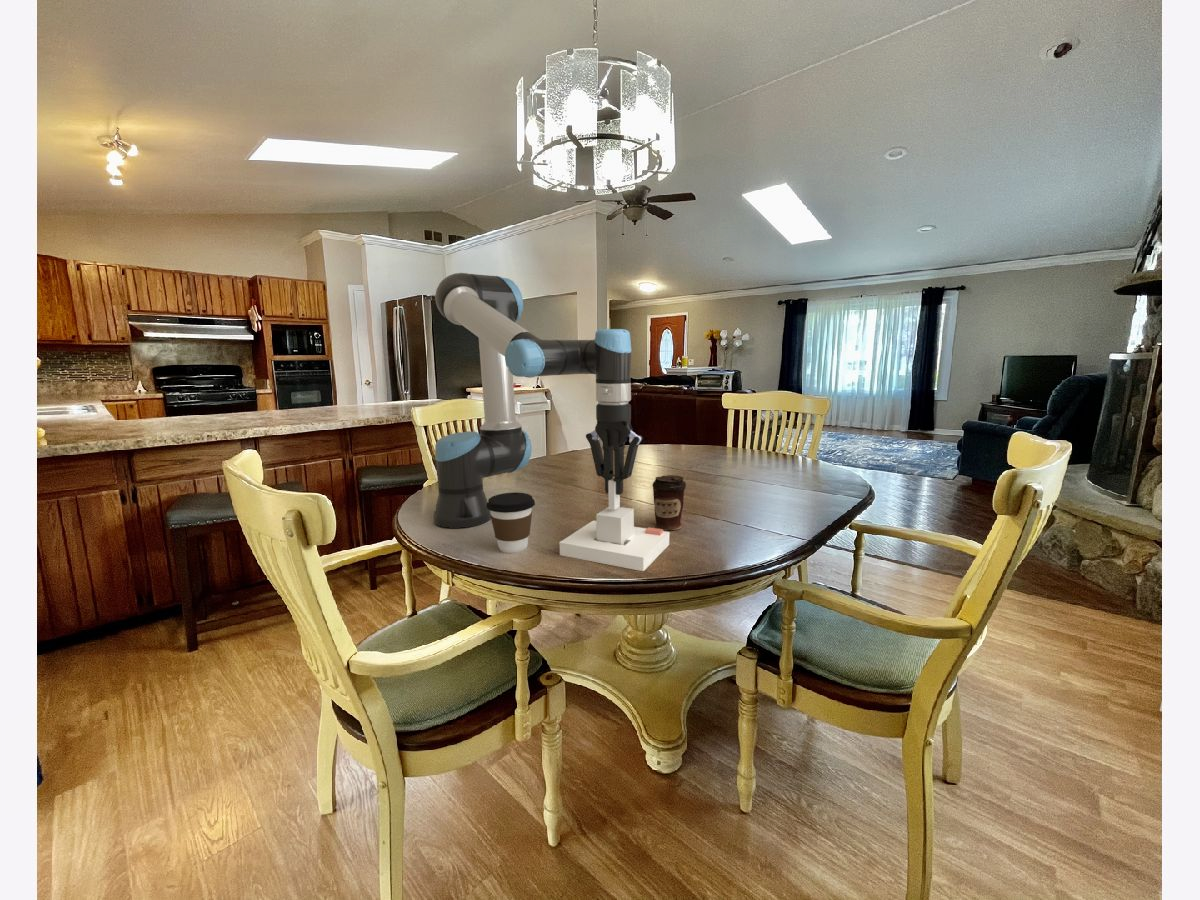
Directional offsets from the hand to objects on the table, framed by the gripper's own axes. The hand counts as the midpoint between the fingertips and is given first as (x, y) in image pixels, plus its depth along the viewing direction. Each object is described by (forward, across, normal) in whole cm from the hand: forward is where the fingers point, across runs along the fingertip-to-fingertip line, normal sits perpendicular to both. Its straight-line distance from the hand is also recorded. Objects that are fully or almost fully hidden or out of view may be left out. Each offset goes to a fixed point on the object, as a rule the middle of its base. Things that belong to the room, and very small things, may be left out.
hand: (614, 507), depth 112 cm
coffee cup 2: (+10, +6, +19) cm, 22 cm away
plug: (+10, 0, 0) cm, 10 cm away
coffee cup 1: (+10, -22, -9) cm, 26 cm away
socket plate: (+10, 0, 0) cm, 10 cm away
